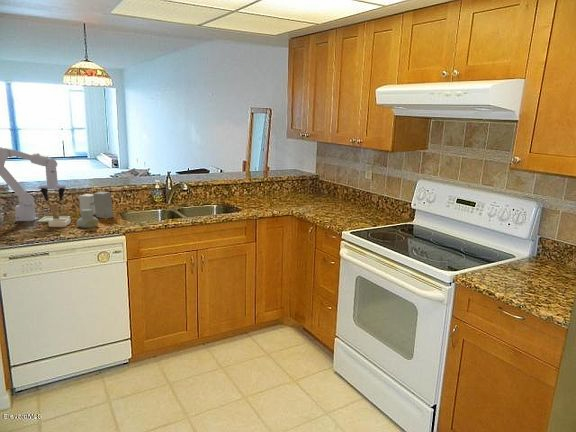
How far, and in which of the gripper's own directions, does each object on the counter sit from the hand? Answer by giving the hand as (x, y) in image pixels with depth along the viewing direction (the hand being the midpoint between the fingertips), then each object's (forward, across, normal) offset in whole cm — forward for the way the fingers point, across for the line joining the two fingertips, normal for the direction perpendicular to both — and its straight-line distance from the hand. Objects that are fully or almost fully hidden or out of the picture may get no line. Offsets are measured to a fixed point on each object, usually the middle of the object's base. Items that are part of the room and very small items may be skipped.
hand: (53, 200), depth 257 cm
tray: (+10, +2, -10) cm, 14 cm away
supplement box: (+10, +18, +4) cm, 21 cm away
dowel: (+9, +3, -10) cm, 14 cm away
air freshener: (+10, +24, -28) cm, 38 cm away
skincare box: (+10, +29, -5) cm, 31 cm away
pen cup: (+10, +9, -23) cm, 26 cm away
